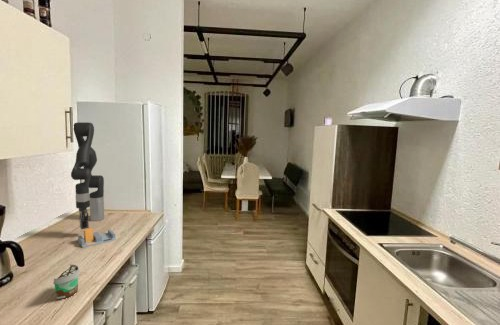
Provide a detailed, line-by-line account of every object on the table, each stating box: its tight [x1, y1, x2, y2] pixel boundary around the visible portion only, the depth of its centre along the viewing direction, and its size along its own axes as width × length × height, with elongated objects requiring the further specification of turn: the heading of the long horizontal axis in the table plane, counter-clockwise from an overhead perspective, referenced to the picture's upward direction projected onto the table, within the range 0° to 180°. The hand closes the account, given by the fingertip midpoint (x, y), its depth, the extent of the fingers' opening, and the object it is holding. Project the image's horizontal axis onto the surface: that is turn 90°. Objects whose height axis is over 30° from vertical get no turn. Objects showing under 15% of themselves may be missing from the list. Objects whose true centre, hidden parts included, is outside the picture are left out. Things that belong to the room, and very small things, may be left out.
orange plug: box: [83, 227, 94, 243], centre depth 162 cm, size 4×4×7 cm
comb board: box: [77, 228, 117, 249], centre depth 165 cm, size 13×18×4 cm
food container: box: [53, 264, 81, 301], centre depth 113 cm, size 12×6×10 cm, turn 5°
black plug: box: [79, 216, 90, 230], centre depth 170 cm, size 4×4×7 cm
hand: (84, 225), depth 171 cm, fingers closed on black plug, 4 cm apart
